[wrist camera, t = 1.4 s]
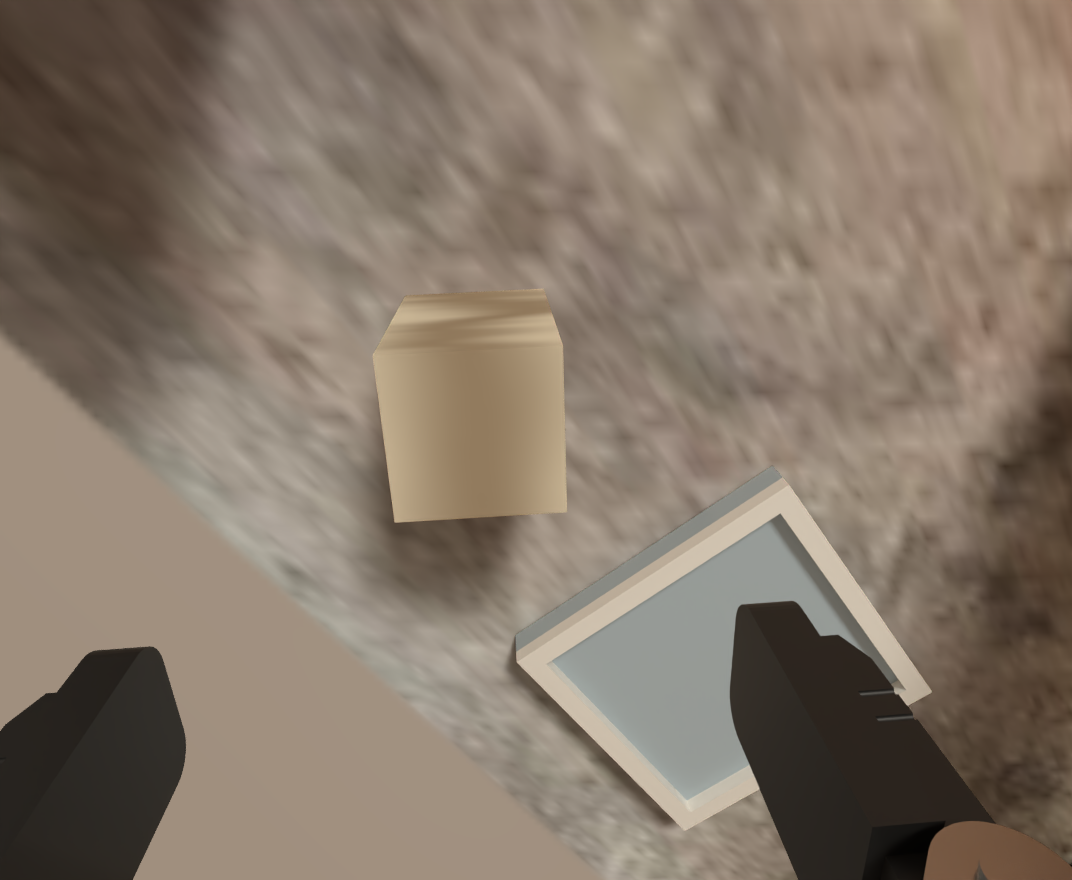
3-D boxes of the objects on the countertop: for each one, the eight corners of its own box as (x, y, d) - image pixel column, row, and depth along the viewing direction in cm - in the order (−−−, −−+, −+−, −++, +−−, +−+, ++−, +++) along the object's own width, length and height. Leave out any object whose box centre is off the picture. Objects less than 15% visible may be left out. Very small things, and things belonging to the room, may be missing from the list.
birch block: (543, 288, 24) (562, 345, 17) (547, 416, 25) (567, 512, 19) (405, 295, 23) (372, 355, 17) (419, 423, 25) (394, 522, 19)
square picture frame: (772, 465, 26) (789, 484, 25) (911, 665, 31) (932, 692, 29) (515, 635, 29) (516, 662, 27) (676, 799, 33) (684, 830, 31)
